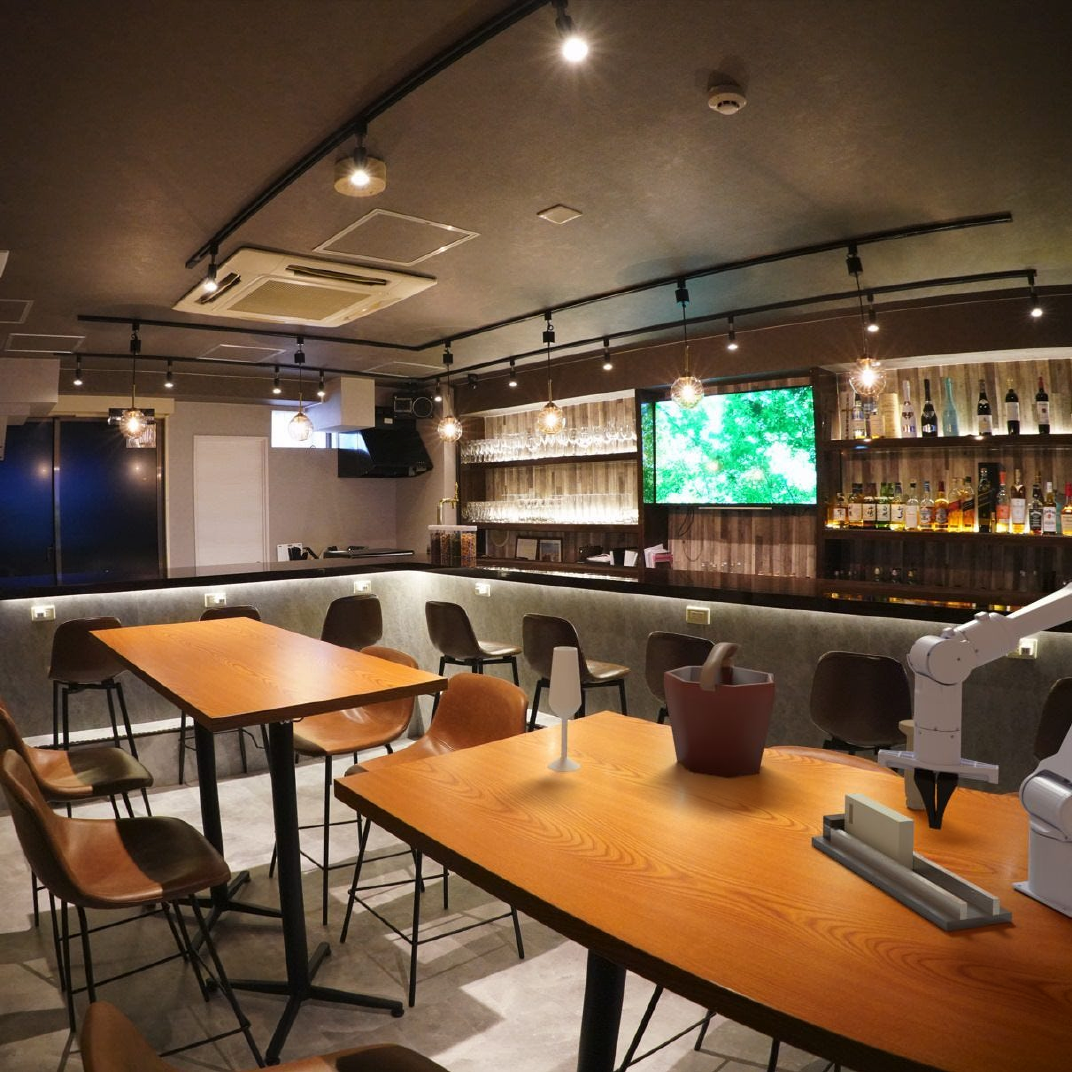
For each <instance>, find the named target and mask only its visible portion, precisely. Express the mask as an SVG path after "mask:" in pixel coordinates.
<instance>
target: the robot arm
mask: <svg viewBox="0 0 1072 1072" xmlns="http://www.w3.org/2000/svg"><path fill="white" fill-rule="evenodd" d="M973 616H974V619H973V620H971V621H968V622H965V623H964V624H961V625H959V626H957V627H954V628H952V627H946V628H944V629H942V633H941V634H940V636H937V635H933V634H932V635H925V636H922V637H920V638H919V639H917V640H916V641H915V642H914V644H912V646H911V649H910V651H909V653H907V654H906V661H907V664H908V666H909V668H910V669H911V671H913V673H914V699H913V701H914V704H913V706H914V707H913V708H914V710H913V712H914V713H913V715H914V716H913V720H914V752H907V751H905V750H887V749H880V748H879V751H878V752H877V767H881V768H887V767H890V768H896V769H897V768H898V769H904V770H905V769H909V770H914V777H913V778H914V781H915V784H916V786H917V788H918V790H919V792H920V794H921V797H922V799H923V802H924V805H925V808H924V809H925V811H926V815H927V816H926V817H927V820H928V828H929V829H932V830H939V831H941V829H942V823H943V818H944V813H945V811H946V808H947V806H948V803H949V801H950V799H951V797H952V795H953V794H954V792H955V790H956V788H957V786H958V785H959V783H958V782H959V779H960V778H965V779H972V780H980V781H985V782H988V783H989V784H996V785H998V784H999V765H996V764H989V763H984V762H981V761H980V762H979V761H976V760H971V759H967V758H962V757H961V753H962V751H961V750H962V711H963V710H962V708H963V707H962V705H963V701H962V699H963V698H962V697H963V682H964V681H966V679H967V678H968V677H969V676H970V675H971V674H972V673H971V672H972V671H973V670H974V669H975V668H979V667H980V666H983V665H985V664H989V663H991V662H992V661H995V660H998V659H1000V658H1002V657H1005V656H1007V655H1009V654H1011V653H1013V652H1015V651H1017V649H1018V647H1019V643H1020V640H1021V639H1023V638H1026V637H1028V636H1032V635H1033V634H1037V633H1040V632H1042V631H1045V630H1048V629H1051V628H1053V627H1055V626H1059V625H1062V624H1064V623H1066V622H1070V621H1072V582H1069V583H1068V584H1067V585H1066V586H1064V587H1062V588H1061V589H1059V590H1057V591H1055V592H1053V593H1051V594H1049V595H1047V596H1044V597H1042V598H1041V599H1039V600H1037V601H1035V602H1033V603H1030V604H1028V605H1026V606H1024V607H1022V608H1020V609H1018V610H1016V611H1014V612H1012V613H1010V614H1008V615H1006V616H1005V615H1002V614H1000V613H997V612H987V611H980V612H978V613H976V614H974V615H973ZM1018 791H1019V792H1018V798H1019V802H1020V805H1021V806H1022V808H1023V809H1024V810H1025V811H1026V812H1027V813H1028V816H1027V818H1028V819H1027V820H1028V822H1029V827H1028V828H1029V830H1028V864H1027V872H1028V873H1027V880H1025V881H1018V882H1012V884H1011V886H1012V888H1014V889H1016V890H1018V891H1019V892H1022V893H1024V894H1025V895H1027V896H1029V897H1030V898H1033V899H1035V900H1036V901H1039V902H1041V903H1043V904H1044V905H1047V906H1048V907H1050V908H1052V909H1054V910H1056V911H1058V912H1060V913H1062V914H1063V915H1066V916H1067V917H1070V918H1072V724H1071V726H1070V727H1069V730H1068V731H1067V733H1066V735H1065V738H1064V739H1063V742H1062V743H1061V746H1060V747H1059V750H1058V751H1057V753H1055V754H1054V755H1051V756H1048V757H1046V758H1044V759H1042V760H1041V761H1040V762H1039V763H1038V766H1037V767H1036V769H1035V770H1034V771H1033V772H1032V773H1031V774H1029V775H1028V776H1027V777H1026V778H1024V780H1023V781H1022V783H1021V784H1020V787H1019V790H1018Z"/></svg>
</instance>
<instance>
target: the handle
mask: <svg viewBox="0 0 1072 1072" xmlns="http://www.w3.org/2000/svg"><path fill="white" fill-rule="evenodd" d="M898 729H899V730H900V732H902V733H903V734H905V735H906V749H905V750H906V751H907V752H914V719H904V720H901V721H899V722H898ZM903 776H904V779H903V780H904V782H903V783H904V793H905V798H906V799H905V807H907V808H908V807H909V808H908V809H911V810H914V811H915V810H916V811H917V810H919V811H924V810H925V809H926V808H925V805H924V802H923V799H922V797H921V794H920V792H919V790H918V788H917V786H916V784H915V781H914V778H913V777H914V770H909V769H904V775H903Z"/></svg>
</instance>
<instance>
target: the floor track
mask: <svg viewBox="0 0 1072 1072" xmlns="http://www.w3.org/2000/svg"><path fill="white" fill-rule="evenodd" d="M844 827H845V812H844V813H836V814H835V813H834V814H826V815H823V816H822V835H818V836H812V837H811V846H813V847H814V848H816V849H817V850H819V851H821V852H822V853H824V854H825V855H827V856H829V857H830V858H831V859H833V860H834V861H836V862H838V863H839V864H841V865H842V866H844V867H846V868H847V869H848V870H850V871H851V872H853V873H855V872H856V873H857V875H858V876H859V875H860V877H861V878H862V877H863V878H862V879H864V880H866V881H867V880H868V881H867V882H869V881H870V882H872V883H871V884H872V885H873V884H874V885H873V886H875V885H876V886H877V887H876V886H875V887H876V888H878V887H880V888H879V889H880V890H881V889H882V890H881V891H882V892H884V891H885V892H884V893H886V894H888V895H889V896H890V895H891V897H892V896H893V897H892V898H893V899H895V900H897V901H899V902H900V903H901V904H903V905H905V907H908V908H909V909H911V910H913V911H914V912H915V913H917V914H918V915H920V916H922V917H923V918H925V919H927V920H928V921H929V922H931V923H933V924H934V925H936V927H939V928H940V929H942V930H943V931H945V932H952V931H960V930H967V929H972V928H974V929H975V928H978V927H985V926H986V927H987V926H993V925H999V924H1006V923H1012V922H1013V912H1012V911H1011V910H1009V909H1007V908H1005V907H1003V906H1001V905H1000V900H1001V899H1000V897H998V896H996V895H994V894H993V893H990V892H989V891H987V890H985V889H983V888H981V886H980V887H979V886H978V885H975V884H974V883H972V882H970V881H969V880H967V879H965V878H963V877H961V876H960V875H957V874H956V873H954V872H953V871H950V870H948V869H947V868H945V867H943V866H942V865H939V864H937V863H936V862H934V861H932V860H930V859H928V858H926V857H925V856H923V855H921V854H919V853H917V852H915V851H914V850H913V869H912V870H909V869H908V868H906V867H904V866H902V865H901V864H899V863H897V862H896V861H894V860H892V859H890V858H889V857H887V856H885V855H883V854H882V853H880V852H878V851H877V850H875V849H873V848H871V847H870V846H868V845H866V844H865V843H863V842H861V841H859V840H858V839H856V838H854V837H853V836H851V835H849V834H847V833H846V832H844ZM856 873H855V874H856ZM870 882H869V883H870Z"/></svg>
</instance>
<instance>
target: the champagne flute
mask: <svg viewBox="0 0 1072 1072" xmlns="http://www.w3.org/2000/svg"><path fill="white" fill-rule="evenodd" d="M579 666H580V665H579V653H578V648H577V647H574V646H573V647H572V646H556V647H554V648H553V654H552V663H551V672H550V681H549V693H548V701H547V702H548V705H549V706H548V707H550V709H551V711H552V712H553V713H554V714H555V715H556V716H557V717H558V718H560V719H561V749H560V750H561V751H560V752H561V753H560V755H561V757H559V758H557V759H555V760H553V761H551V762H550V763H548V765H547V768H549V769H551V770H553V771H557V772H573V771H577V770H579V769H580V768H581V765H580V764H579V763H577V762H576V761H574V760H572V759H571V758H569V757H568V719H570V718H572V717H573V716H574V715H575V714H576V713H577V712H578V711H579V709H580V707H581V706H582V693H581V682H580V681H581V680H580V667H579Z"/></svg>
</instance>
